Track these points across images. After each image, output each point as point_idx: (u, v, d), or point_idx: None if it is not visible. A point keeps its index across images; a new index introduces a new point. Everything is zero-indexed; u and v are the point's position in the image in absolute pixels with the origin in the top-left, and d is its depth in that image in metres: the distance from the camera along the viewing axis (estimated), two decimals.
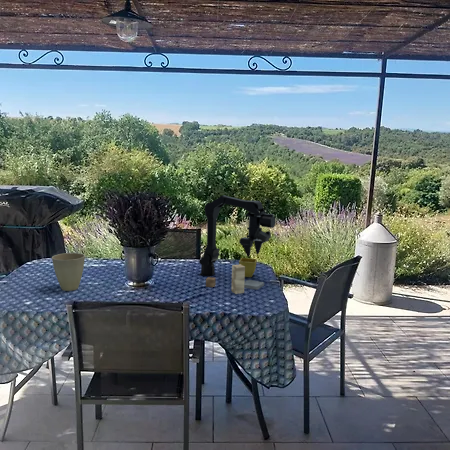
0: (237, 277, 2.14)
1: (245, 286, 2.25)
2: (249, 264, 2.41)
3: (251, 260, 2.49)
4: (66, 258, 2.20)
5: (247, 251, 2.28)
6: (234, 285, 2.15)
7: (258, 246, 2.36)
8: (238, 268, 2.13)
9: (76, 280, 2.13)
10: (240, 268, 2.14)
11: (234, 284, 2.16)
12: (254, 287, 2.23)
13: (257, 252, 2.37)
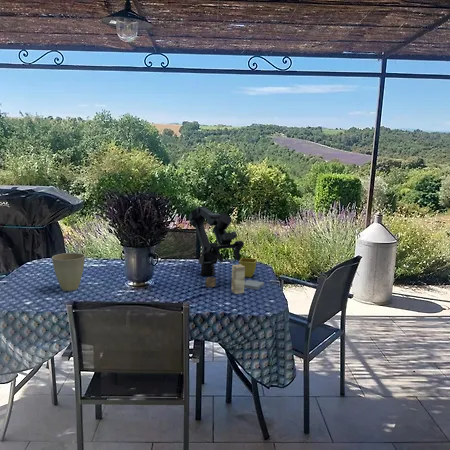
0: (237, 277, 2.14)
1: (245, 286, 2.25)
2: (249, 264, 2.41)
3: (251, 260, 2.49)
4: (66, 258, 2.20)
5: (218, 257, 2.22)
6: (234, 285, 2.15)
7: (236, 253, 2.27)
8: (238, 268, 2.13)
9: (76, 280, 2.13)
10: (240, 268, 2.14)
11: (234, 284, 2.16)
12: (254, 287, 2.23)
13: (237, 258, 2.25)
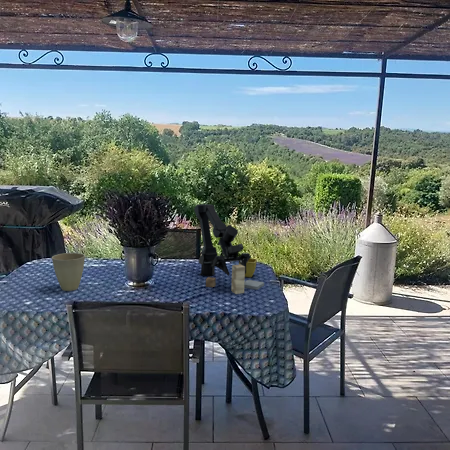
0: (237, 277, 2.14)
1: (245, 286, 2.25)
2: (249, 264, 2.41)
3: (251, 260, 2.49)
4: (66, 258, 2.20)
5: (224, 270, 2.16)
6: (234, 285, 2.15)
7: (243, 265, 2.21)
8: (238, 268, 2.13)
9: (76, 280, 2.13)
10: (240, 268, 2.14)
11: (234, 284, 2.16)
12: (254, 287, 2.23)
13: None
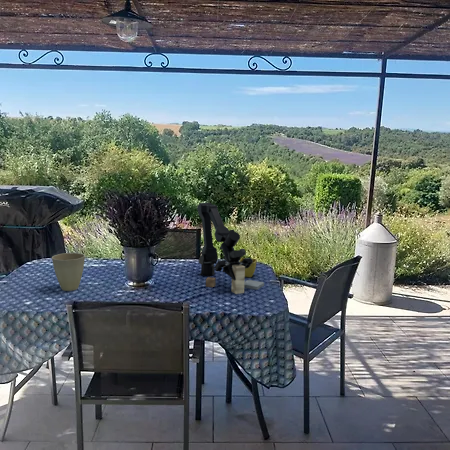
0: (237, 277, 2.14)
1: (245, 286, 2.25)
2: None
3: None
4: (66, 258, 2.20)
5: (231, 274, 2.16)
6: (234, 285, 2.15)
7: None
8: (238, 268, 2.13)
9: (76, 280, 2.13)
10: (240, 268, 2.14)
11: (234, 284, 2.16)
12: (254, 287, 2.23)
13: None
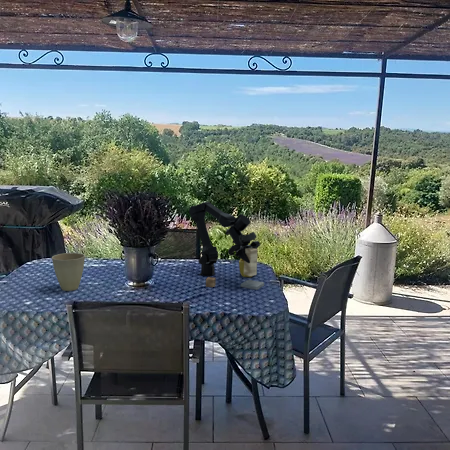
0: (251, 259, 2.21)
1: (245, 286, 2.25)
2: None
3: None
4: (66, 258, 2.20)
5: (244, 258, 2.22)
6: (248, 268, 2.22)
7: None
8: (252, 251, 2.20)
9: (76, 280, 2.13)
10: (254, 251, 2.21)
11: (248, 267, 2.22)
12: (254, 287, 2.23)
13: None
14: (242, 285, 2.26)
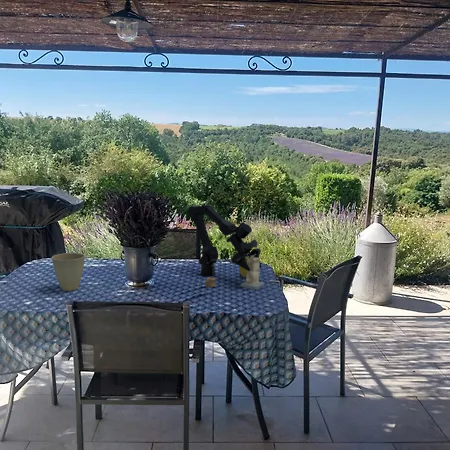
0: (254, 268, 2.24)
1: (245, 286, 2.25)
2: None
3: None
4: (66, 258, 2.20)
5: (244, 266, 2.23)
6: (251, 276, 2.25)
7: None
8: (255, 260, 2.24)
9: (76, 280, 2.13)
10: (256, 260, 2.25)
11: (251, 276, 2.25)
12: (254, 287, 2.23)
13: (259, 265, 2.30)
14: (242, 285, 2.26)
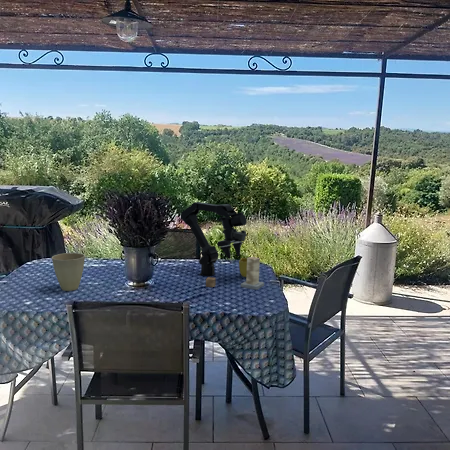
0: (254, 268, 2.24)
1: (245, 286, 2.25)
2: None
3: None
4: (66, 258, 2.20)
5: (227, 253, 2.32)
6: (251, 276, 2.25)
7: (237, 248, 2.40)
8: (255, 260, 2.24)
9: (76, 280, 2.13)
10: (256, 260, 2.25)
11: (251, 276, 2.25)
12: (254, 287, 2.23)
13: (238, 254, 2.40)
14: (242, 285, 2.26)
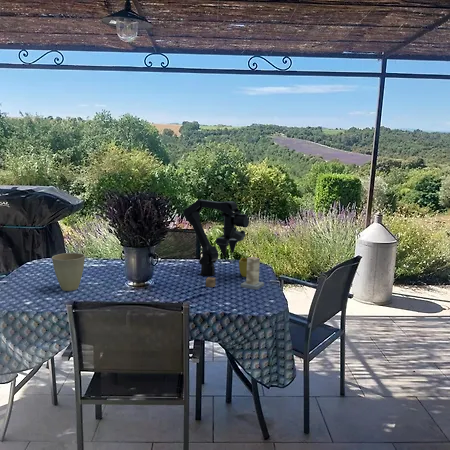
0: (254, 268, 2.24)
1: (245, 286, 2.25)
2: None
3: None
4: (66, 258, 2.20)
5: (223, 250, 2.34)
6: (251, 276, 2.25)
7: (233, 245, 2.43)
8: (255, 260, 2.24)
9: (76, 280, 2.13)
10: (256, 260, 2.25)
11: (251, 276, 2.25)
12: (254, 287, 2.23)
13: (232, 251, 2.43)
14: (242, 285, 2.26)
